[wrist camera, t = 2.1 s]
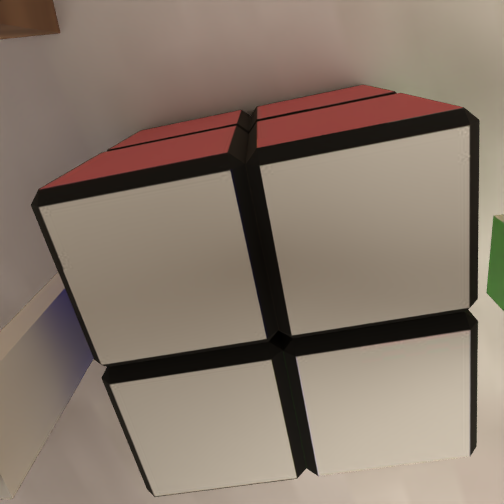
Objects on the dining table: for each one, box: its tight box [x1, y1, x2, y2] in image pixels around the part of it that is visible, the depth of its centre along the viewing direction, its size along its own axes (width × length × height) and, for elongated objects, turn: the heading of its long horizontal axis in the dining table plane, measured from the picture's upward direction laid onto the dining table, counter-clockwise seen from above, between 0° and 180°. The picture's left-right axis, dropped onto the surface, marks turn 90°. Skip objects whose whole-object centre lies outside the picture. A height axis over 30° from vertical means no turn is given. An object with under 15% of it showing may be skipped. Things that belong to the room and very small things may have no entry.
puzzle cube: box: [31, 85, 479, 497], centre depth 16 cm, size 10×10×10 cm
